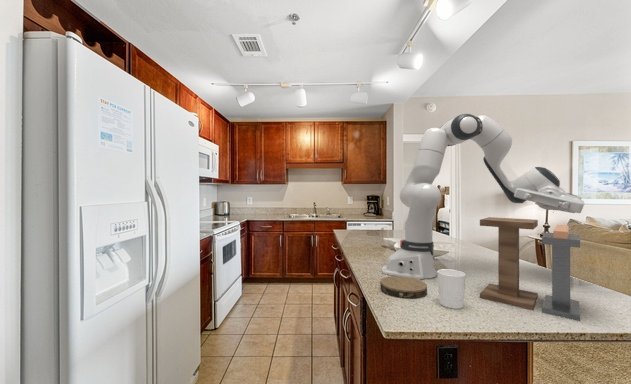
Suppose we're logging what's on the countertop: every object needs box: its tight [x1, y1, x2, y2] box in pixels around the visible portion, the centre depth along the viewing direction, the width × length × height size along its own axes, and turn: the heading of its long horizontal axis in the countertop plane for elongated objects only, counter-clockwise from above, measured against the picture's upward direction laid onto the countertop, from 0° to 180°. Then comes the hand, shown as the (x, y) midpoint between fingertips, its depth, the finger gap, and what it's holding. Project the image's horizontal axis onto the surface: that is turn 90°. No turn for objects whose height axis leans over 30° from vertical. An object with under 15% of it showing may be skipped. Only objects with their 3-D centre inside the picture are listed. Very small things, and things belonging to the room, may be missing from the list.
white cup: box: [436, 268, 467, 310], centre depth 85 cm, size 8×8×10 cm
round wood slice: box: [379, 275, 428, 300], centre depth 98 cm, size 16×16×3 cm
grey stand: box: [541, 231, 581, 322], centre depth 82 cm, size 14×8×22 cm, turn 137°
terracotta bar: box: [552, 224, 570, 239], centre depth 86 cm, size 22×3×2 cm, turn 137°
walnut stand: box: [479, 216, 539, 311], centre depth 91 cm, size 14×14×26 cm
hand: (544, 201), depth 98 cm, fingers open, 8 cm apart
